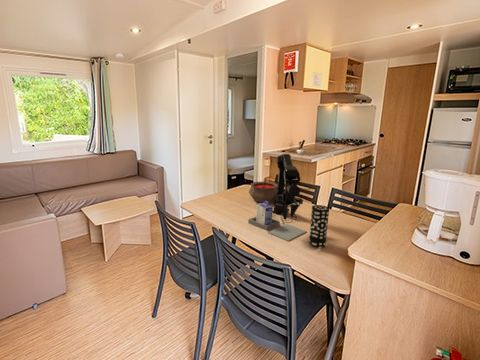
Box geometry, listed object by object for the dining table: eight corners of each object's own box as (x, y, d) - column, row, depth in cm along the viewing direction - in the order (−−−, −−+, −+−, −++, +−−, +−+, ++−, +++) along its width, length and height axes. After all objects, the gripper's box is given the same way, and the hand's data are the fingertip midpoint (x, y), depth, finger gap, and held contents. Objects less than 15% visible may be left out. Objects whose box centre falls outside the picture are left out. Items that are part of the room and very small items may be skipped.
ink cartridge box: (272, 226, 161) (273, 203, 157) (264, 227, 158) (265, 204, 155) (263, 220, 169) (264, 198, 166) (255, 222, 167) (256, 200, 163)
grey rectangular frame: (261, 218, 173) (261, 214, 172) (279, 225, 162) (279, 221, 162) (248, 223, 165) (248, 219, 164) (266, 230, 154) (266, 226, 154)
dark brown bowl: (249, 196, 221) (250, 177, 217) (279, 198, 217) (280, 178, 214) (246, 205, 197) (247, 184, 194) (279, 207, 194) (280, 185, 191)
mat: (286, 224, 163) (287, 223, 163) (306, 232, 153) (306, 231, 153) (267, 233, 151) (267, 232, 151) (288, 241, 141) (288, 240, 141)
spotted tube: (306, 240, 143) (309, 205, 138) (321, 240, 143) (325, 204, 139) (312, 248, 135) (315, 210, 130) (328, 247, 135) (332, 210, 131)
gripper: (288, 185, 159) (286, 210, 162) (267, 191, 146) (266, 217, 150) (304, 189, 151) (302, 215, 154) (284, 195, 138) (282, 223, 142)
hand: (288, 217), depth 150 cm, fingers open, 6 cm apart
